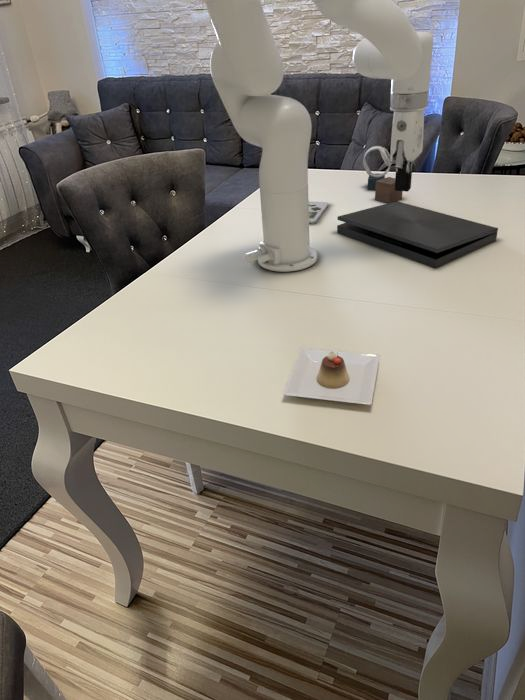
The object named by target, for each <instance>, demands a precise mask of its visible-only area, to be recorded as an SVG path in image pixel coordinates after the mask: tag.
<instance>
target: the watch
mask: <svg viewBox="0 0 525 700" xmlns="http://www.w3.org/2000/svg"><path fill="white" fill-rule="evenodd" d="M374 150H378V151H379V152H380V156H381V159H382V160H383V162H384V164H385V165H386V166H387V169H386V170H385V171H384V172H381V173H373V172H372V170H371V169H370V167H369V166H368V162H367V157H366V156H367V155H368V153H370V152H371V151H374ZM392 164H393V160H392V159H391V155H390V152H389V151H388V149H387V148H386V147H385V146H384V147H383V146H381V145H375V146H371V147H370V148H369V149H367V150H366V151H365V153H364V155H363V157H362V166H363V169H364V170H365V172H366V174H367V175H368V176H367V177H368V178H367V191H375V187H376V181H377V180H381V179H384V178H386V175H387V174H388V173H389V172H390V169H391V166H392Z"/></svg>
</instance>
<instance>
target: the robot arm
mask: <svg viewBox="0 0 525 700" xmlns="http://www.w3.org/2000/svg"><path fill="white" fill-rule="evenodd" d="M311 2H312V3H313V4H314V6H315V7H316V9H317V10H318V11H319V13H320V14H321V15H322V16H323V17H324V18H326V19H327V20H329V21H330V22H332V23H334V24H336V25H338V26H341V27H343V28H345V29H348V30H351V31H353V32H355V33H357V34H359V35H360V36H361V37H363V38H362V39H361V40H360V41H358V43H357V44H356V46H355V48H354V50H353V54H352V64H353V67H354V68H355V71H357V73H358V74H360V75H361V76H363V77H366V78H370V79H377V80H391V83H390V84H391V87H390V100H389V101H390V103H389V110H390V111H391V112H392V111H393V117H392V126H391V138H390V152H389V155H390V157H391V159H392V162H394V161H395V167H394V168H395V177H394V178H395V190H396V191H402V192H409V191H410V190H411V188H412V179H413V178H412V177H413V163H414V161H415V160H416V159H417V158H418V157H419V156H420V155H421V154H422V153H423V149H424V129H425V127H424V126H425V110H427V109H428V103H429V94H430V93H429V92H430V83H431V82H430V80H431V70H432V58H433V48H434V37H433V34H432V33H431V32H429V31H423V30H422V31H416V29H415V28H414V26H413V25H412V23H411V21H410V19H409V17H408V16H407V15H406V13H405V12H404V11H403V10H402V8H401V7H400V6H399V5H398V4H397V3H395V1H394V0H311ZM205 5H206V9H207V13H208V16H209V19H210V22H211V24H212V27H213V30H214V32H215V35H216V37H217V40H218V41H217V43H216V44H215V45H214V47H213V49H212V51H211V55H210V62H209V67H210V74H211V78H212V82H213V85H214V87H215V89H216V91H217V93H218V96H219V98H220V100H221V102H222V104H223V106H224V108H225V111H226V112H227V115H228V117H229V119H230V121H231V123H232V125H233V127H234V129H235V131H236V132H237V134H238V135H239V136H240V138H241V139H242V140H244V141H245V142H247V144H250V145H252V146H256V147H259V148H261V157H260V162H259V166H258V185H259V195H260V211H261V223H262V224H261V225H262V235H263V236H262V237H263V241H260V242H259V247H257V248H256V250H254V251H253V250H252V251H250V252H247V253H244V260H245V261H246V263H248V264H250V263H253V262H255V261H257V263H258V265H259V266H260V267H262V268H263V269H266V270H269V271H271V272H280V273H281V272H282V273H284V272H285V273H288V272H297V271H302V270H304V269H307V268H309V267H311V266H313V265H314V264H316V262H317V260H318V252H317V250H315V249H314V248H313V247H311V245H310V243H311V241H310V223H309V202H308V201H309V176H308V175H309V168H308V167H309V152H310V145H311V139H312V128H313V127H312V119H311V115H310V113H309V111H308V110H307V108H306V107H305V106H304V105H303V103H301V102H300V101H299V100H297V99H294V98H293V97H290V96H289V97H288V96H283V95H278V94H273V93H275V92H276V91H278V89H279V88H280V86H281V84H282V82H283V79H284V72H285V71H284V70H285V69H284V63H283V60H282V56H281V54H280V51H279V49H278V46H277V44H276V41H275V38H274V35H273V33H272V30H271V27H270V25H269V22H268V20H267V19H268V18H267V17H266V14H265V11H264V7H263V5H262V1H261V0H205Z"/></svg>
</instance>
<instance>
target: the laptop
mask: <svg viewBox="0 0 525 700" xmlns="http://www.w3.org/2000/svg"><path fill="white" fill-rule="evenodd" d="M336 234H339V235H342V236H345V237H348V238H351V239H354V240H356V241H359V242H362V243H365V244H367V245H370V246H373V247H375V248H378V249H381V250H384V251H386V252H389V253H392V254H395V255H398V256H400V257H403V258H406V259H408V260H411V261H415V262H418V263H419V264H423V265H425V266H428V267H431V268H434V269H437V268H438V267H441V266H443V265H445V264H447V263H450V262H451V261H454V260H456V259H459V258H460V257H462V256H465V255H467V254H469V253H471V252H473V251H476V250H479V249H481V248H483V247H485V246H487V245H489V244H491V243H493V242H496V241H497V238H498V232H495V233H493V234H490V235H487V236H484V237H481V238H478V239H475V240H473V241H470V242H467V243H464V244H461V245H458V246H456V247H453V248H450V249H447V250H444V251H441V252H439V253H435V252H433V251H430V250H427V249H424V248H421V247H418V246H415V245H412V244H409V243H406V242H403V241H400V240H397V239H394V238H391V237H388V236H385V235H382V234H379V233H376V232H373V231H370V230H367V229H364V228H361V227H358V226H355V225H352V224H349V223H346V222H342V223H340V224H337V226H336Z"/></svg>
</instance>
